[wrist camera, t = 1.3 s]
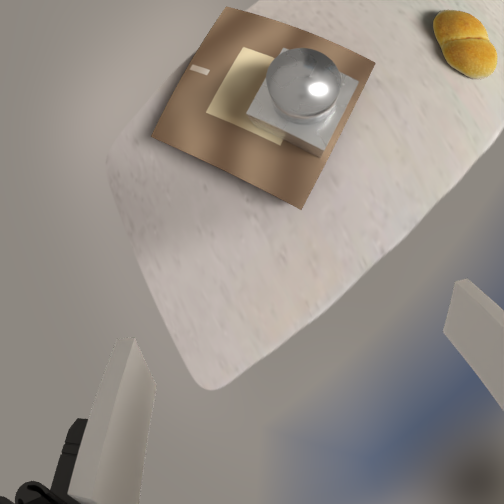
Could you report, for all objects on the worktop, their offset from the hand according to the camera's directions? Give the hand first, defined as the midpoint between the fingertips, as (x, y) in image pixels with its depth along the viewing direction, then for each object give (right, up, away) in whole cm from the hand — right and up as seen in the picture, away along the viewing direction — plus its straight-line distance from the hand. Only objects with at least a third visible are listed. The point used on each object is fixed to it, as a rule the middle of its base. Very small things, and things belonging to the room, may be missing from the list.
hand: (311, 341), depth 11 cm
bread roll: (+22, +27, +12) cm, 37 cm away
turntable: (-1, +18, +16) cm, 24 cm away
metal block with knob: (+2, +16, +14) cm, 21 cm away
